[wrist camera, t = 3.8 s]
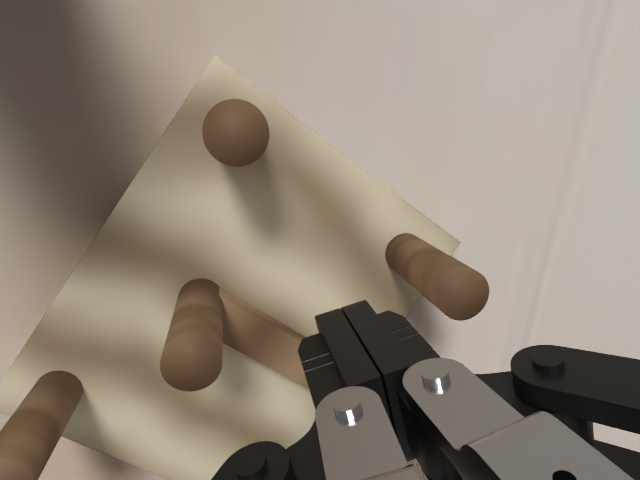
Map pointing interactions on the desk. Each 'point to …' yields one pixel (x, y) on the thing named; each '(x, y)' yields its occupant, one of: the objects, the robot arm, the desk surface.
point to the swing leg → (223, 338)
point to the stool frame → (229, 274)
